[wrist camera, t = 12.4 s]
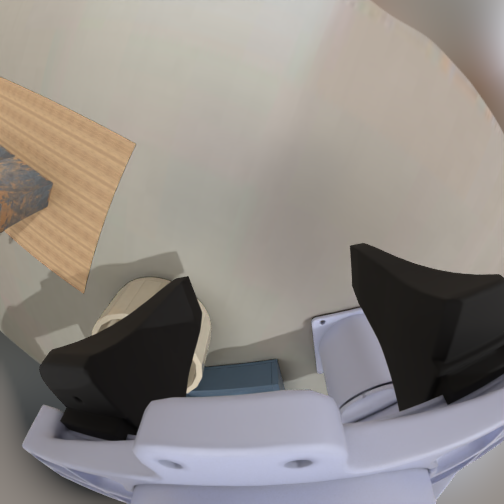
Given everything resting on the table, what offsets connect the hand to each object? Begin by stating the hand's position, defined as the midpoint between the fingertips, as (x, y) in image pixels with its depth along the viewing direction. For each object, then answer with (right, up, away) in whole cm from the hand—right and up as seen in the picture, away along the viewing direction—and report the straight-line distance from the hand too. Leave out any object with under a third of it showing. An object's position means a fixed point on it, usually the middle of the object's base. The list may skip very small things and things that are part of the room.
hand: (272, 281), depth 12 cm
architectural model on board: (-25, +9, +7) cm, 27 cm away
